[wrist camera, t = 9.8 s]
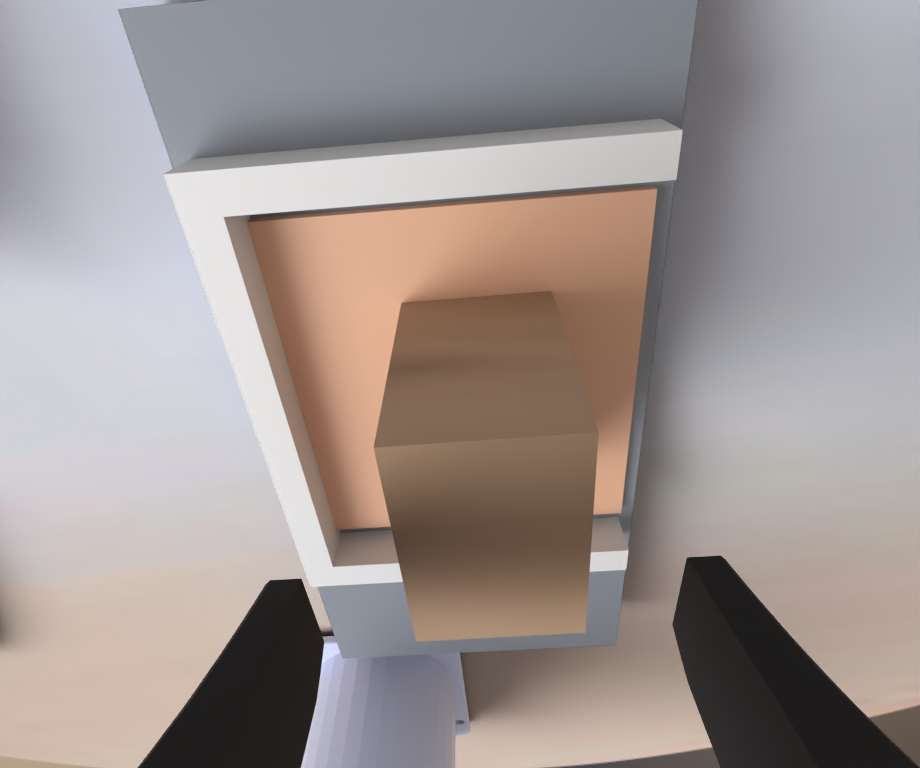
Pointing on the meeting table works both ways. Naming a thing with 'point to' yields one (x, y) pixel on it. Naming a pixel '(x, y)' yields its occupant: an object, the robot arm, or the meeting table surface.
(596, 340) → the frame
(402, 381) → the brown rectangular block
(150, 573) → the meeting table surface
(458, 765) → the meeting table surface
